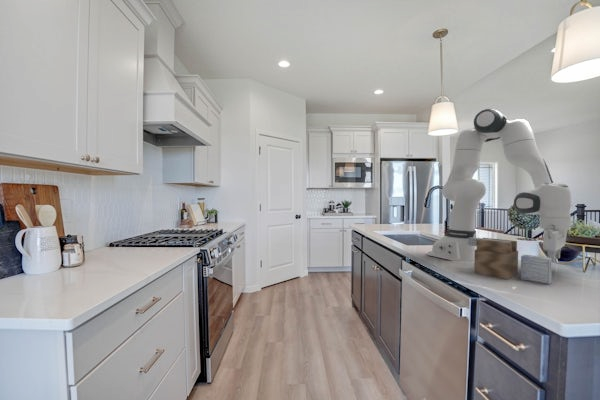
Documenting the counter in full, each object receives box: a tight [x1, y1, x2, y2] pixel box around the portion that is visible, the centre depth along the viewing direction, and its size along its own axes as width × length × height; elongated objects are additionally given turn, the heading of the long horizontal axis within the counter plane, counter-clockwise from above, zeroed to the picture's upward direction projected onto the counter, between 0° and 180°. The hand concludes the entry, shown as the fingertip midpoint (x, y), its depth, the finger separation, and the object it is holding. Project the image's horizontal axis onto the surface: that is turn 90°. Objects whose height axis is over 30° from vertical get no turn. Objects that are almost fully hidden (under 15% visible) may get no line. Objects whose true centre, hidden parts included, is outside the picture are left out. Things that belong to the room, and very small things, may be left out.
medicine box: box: [520, 254, 552, 285], centre depth 96 cm, size 8×4×9 cm, turn 41°
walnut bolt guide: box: [474, 237, 519, 281], centre depth 105 cm, size 11×12×13 cm
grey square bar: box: [468, 237, 512, 246], centre depth 107 cm, size 14×3×3 cm, turn 38°
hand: (554, 260), depth 104 cm, fingers open, 8 cm apart
